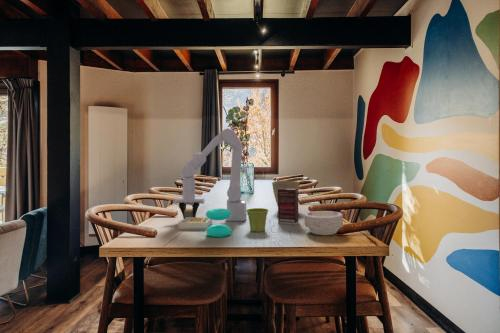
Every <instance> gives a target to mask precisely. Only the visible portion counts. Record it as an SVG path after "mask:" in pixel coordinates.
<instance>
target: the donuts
mask: <svg viewBox="0 0 500 333" xmlns="http://www.w3.org/2000/svg"><path fill="white" fill-rule="evenodd" d="M205 215H206V216H205V217H207V218H209V219H211V220H212V221H224V220H225V219H227V218H229V217H230V215H231V212H230V210H228V209H227V208H211V209H208V210H207V211H206V213H205ZM205 231H206V235H207V236H209V237H211V238H223V237H227V236H229V235H231V233H232V229H231V227H230V226H228V225H227V224H211V225H210V227H208V228H207V230H205Z"/></svg>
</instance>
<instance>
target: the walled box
mask: <svg viewBox="0 0 500 333" xmlns="http://www.w3.org/2000/svg"><path fill="white" fill-rule="evenodd" d="M212 225H213V220H211V219H209V218H207V216H205V217H204V216H199V217H198V216H196V217H186V218H185V219H182V220H181V221H178V230H181V231H182V230H183V231H185V230H186V231H187V230H188V231H189V230H190V231H191V230H192V231H196V230H198V231H206V230H207V228H208V227H210V226H212Z"/></svg>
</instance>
